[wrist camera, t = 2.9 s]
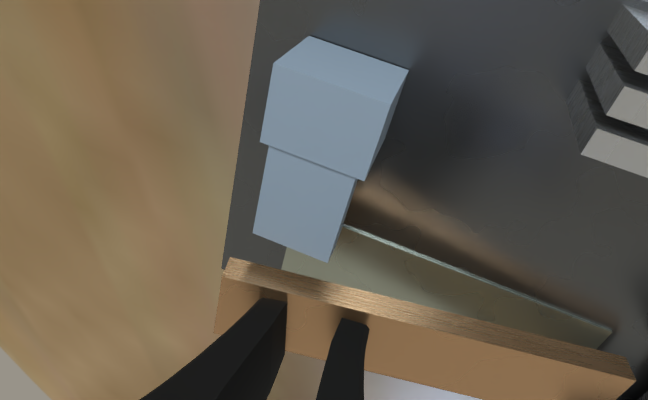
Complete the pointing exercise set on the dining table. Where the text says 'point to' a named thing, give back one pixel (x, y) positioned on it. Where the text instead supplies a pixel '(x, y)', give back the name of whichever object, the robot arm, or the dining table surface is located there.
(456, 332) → the strap
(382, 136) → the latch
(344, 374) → the robot arm
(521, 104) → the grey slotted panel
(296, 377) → the dining table surface
